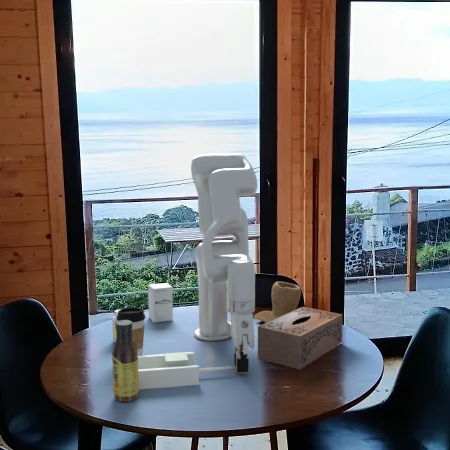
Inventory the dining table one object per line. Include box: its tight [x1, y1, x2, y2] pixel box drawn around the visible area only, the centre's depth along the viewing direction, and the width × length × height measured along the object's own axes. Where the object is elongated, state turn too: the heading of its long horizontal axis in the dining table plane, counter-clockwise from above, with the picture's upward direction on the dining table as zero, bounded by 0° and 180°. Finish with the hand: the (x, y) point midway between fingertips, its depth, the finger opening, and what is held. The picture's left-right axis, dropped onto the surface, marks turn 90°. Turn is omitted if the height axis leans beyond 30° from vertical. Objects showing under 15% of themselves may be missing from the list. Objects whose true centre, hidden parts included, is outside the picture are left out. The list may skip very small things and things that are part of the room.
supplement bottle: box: [112, 308, 122, 344], centre depth 185 cm, size 6×6×10 cm
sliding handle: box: [163, 350, 247, 375], centre depth 157 cm, size 22×6×6 cm, turn 100°
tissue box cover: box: [257, 306, 344, 370], centre depth 175 cm, size 26×14×10 cm, turn 142°
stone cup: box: [254, 281, 302, 323], centre depth 201 cm, size 15×12×15 cm
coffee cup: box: [117, 307, 146, 356], centre depth 169 cm, size 8×8×15 cm
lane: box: [138, 351, 200, 391], centre depth 155 cm, size 18×11×6 cm, turn 100°
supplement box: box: [147, 282, 174, 324], centre depth 208 cm, size 7×7×13 cm
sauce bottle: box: [111, 320, 140, 403], centre depth 143 cm, size 7×6×20 cm
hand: (241, 368), depth 159 cm, fingers closed on sliding handle, 2 cm apart
